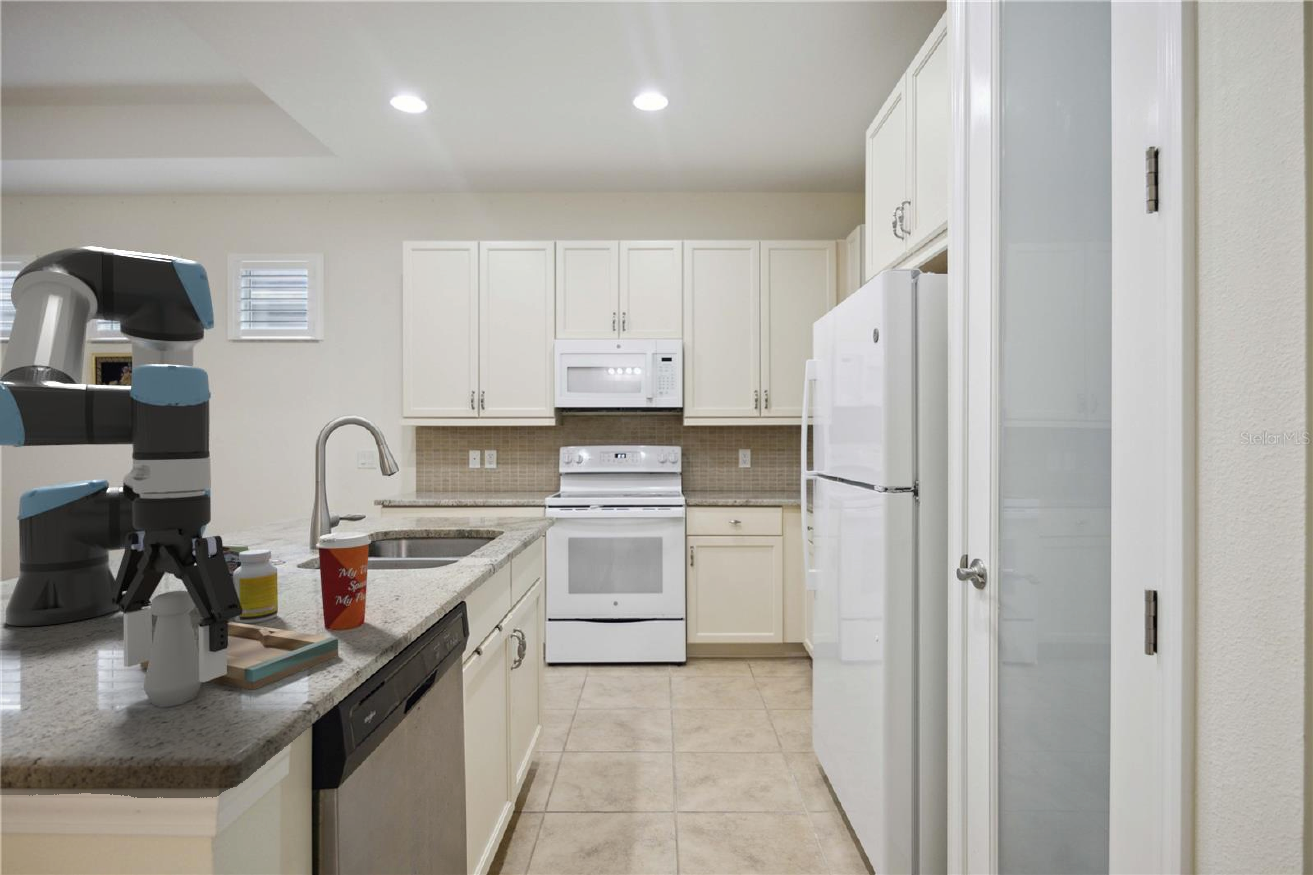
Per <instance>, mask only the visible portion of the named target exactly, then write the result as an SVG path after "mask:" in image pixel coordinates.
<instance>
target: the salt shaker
mask: <svg viewBox="0 0 1313 875" xmlns="http://www.w3.org/2000/svg"><path fill="white" fill-rule="evenodd" d="M150 604H151V606H150V608H151V613H152V615H153V616H155V617H156V622H155V626H154V627H155V628H154V631H153V636H152V647H151V652H150V658H149V663H148V668H146V674H145V678H144V684H143V688H144V692H145V694H146V696H147V698H148V699H149V701H150V702H151V704H152V706H154V707H159V708H168V707H175V706H181V705H184V704H185V703H187V702H189V701H192V700H194V699H195V698H196V697H197V694H198V692H199V691H200V688H201V687H202V683H203V682H200V681H199V652H198V648H197V644H196V642H197V641H196V637H195V634H194V630H193V625H192V620H191V617H190V613H191V612H192V611H193V610H194V609H195V608H196V605H195V604H194V602H193V600H192V598H191V596H190V594H189V593H188V591H187V590H175V591H167V592H163V593H160V594H158V595H156V596H155V597H154V598H153V599H152V600H151V603H150Z"/></svg>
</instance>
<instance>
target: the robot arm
mask: <svg viewBox="0 0 1313 875" xmlns="http://www.w3.org/2000/svg"><path fill="white" fill-rule="evenodd" d="M211 294H212V293H211V289H210V283H209V278H208V275H207V270H206V269H205V267H204V266H203V265H202V264H201V263H199V262H197V261H195V260H190V259H184V258H179V257H174V256H168V255H163V254H162V255H161V254H154V253H142V252H136V251H127V250H118V249H110V248H109V249H108V248H104V247H96V246H76V247H68V248H64V249H60V250H56V251H53V252H51V253H47V254H45V255H43V256H41V257H39V258H37V259H35V260H34V261H32V262H31V263H29V264H27V265H26V266H25V267H24V268H22V269H21V271H20V272H19V273H17V275H16V277H15V278H14V281H13V283H12V287H11V290H10V298H11V299H10V300H11V303H12V305H13V307H14V309H15V315H14V319H13V323H12V325H11V326H12V327H11V330H10V334H9V338H8V342H7V346H6V349H5V354H4V357H3V360H2V364H1V369H0V446H8V447H9V446H10V447H11V446H12V447H14V448H20V447H21V448H22V447H38V446H40V447H41V446H43V447H44V446H75V445H76V446H78V445H80V446H83V445H95V446H96V445H98V446H99V445H101V446H102V445H104V446H105V445H132V455H131V456H132V469H131V470H130V471H129V472H128V473H127V474H125V475H124V477H123V481H122V483H123V485H120V486H119V485H118V486H110V482H109V481H108V479H106V478H98V479H96V478H95V479H87V480H79V481H72V482H65V483H64V482H63V483H58V484H57V483H56V484H52V485H45V486H44V485H43V486H39V487H35V488H32V489H31V488H30V489H29V490H27V491H25V492H24V493H22V495H20V498H19V507H18V516H17V517H16V519H17V520H18V525H19V526H18V527H19V530H18V531H19V532H18V533H19V535H18V536H19V576H18V579H17V581H16V584H15V586H14V589H13V590H12V594H11V596H10V598H9V600H8V602H7V606H6V609H5V623H6V624H7V625H8V626H14V627H15V626H16V627H36V626H38V627H39V626H49V625H56V624H63V623H66V624H67V623H71V622H77V621H83V620H86V619H88V620H89V619H92V618H96V617H100V616H104V615H107V614H110V613H113V612H116V611H118V610H119V611H120V612H122V613H123V618H122V619H123V662H124V663H123V667H126V668H130V667H132V666H136V665H140V663H143V662H146V661H149V658H150V652H151V647H152V642H153V623H152V622H153V619H152V617H153V616H152V613H151V603H152V601H151V600H150V599H151V598H152V596H153V595H154V593H155V591H156V589H157V588H158V586H159V584H160V582H161V580H163V577H164V576H165V574H166V573H167V574H169V575H170V574H171V575H173V576H174V577H175V578H176V579H179V580H181V582H182V584H183V585H184V587H185V589H186V591H188V593H189V594H190V596H191V598H192V600H193V602H194V604H195V608H196V609H197V611H198V613H199V614H200V617H201V618H202V620H201V621H200V623H199V624H198V642H199V681H200V682H202V683H206V682H210V681H209V680H212V679H214V678H217V677H220V676H223V675H225V674H227V646H228V623H229V621H230V619H234V617H236V616H239V615H241V614H242V611H243V610H242V607H241V604H240V601H239V598H238V595H237V592H236V589H235V586H234V584H233V581H232V578H231V575H230V572H229V569H228V566H227V563H226V560H225V557H224V555H223V544H224V543H223V538H222V536H221V535H213V536H212V535H211V536H207V537H206V536H205V537H203V536H204V534H205V531H206V529H207V525H208V524H209V523H210V522H211V520H212V517H211V516H212V515H211V512H212V510H211V507H212V506H211V505H212V504H211V500H212V498H211V494H212V492H211V488H212V478H211V477H212V476H211V472H212V471H211V456H210V400H211V398H212V397H211V395H212V394H211V392H210V385H209V384H210V383H209V374H208V373H207V371H206V370H205V369H203V368H200V367H198V366H194V347H195V346H196V345H197V344H199V343H200V342H203V340H204V337H205V335H204V334H205V330H207V331H208V330H210V329H211V330H212V329H214V327H215V318H214V307H213V301H212V295H211ZM93 320H102V321H106V322H107V321H108V322H109V321H110V322H119V323H120V324H119V330H120V334H121V335H123V336H124V337H125V338H126V339H128V340H129V341H130V342H131V353H132V354H131V361H132V362H131V363H132V366H131V368H132V372H131V380H130V381H131V383H130V385H114V384H113V385H111V384H110V385H108V384H107V385H106V384H102V385H101V384H83V383H82V381H83V371H84V359H85V347H86V339H87V328H88V324H89V323H90V322H91V321H93ZM119 550H124V553H123V555H122V559H121V561H120V564H119V568H118V571H117V574H116V578H115V576H114V573H113V571H112V569H111V568H110V551H119ZM195 564H196V565H195ZM149 606H150V607H149ZM228 606H230V608H229V607H228ZM212 610H213V611H212Z"/></svg>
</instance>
